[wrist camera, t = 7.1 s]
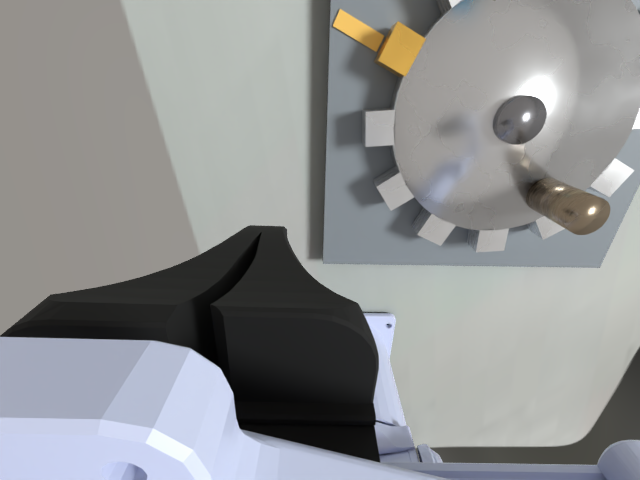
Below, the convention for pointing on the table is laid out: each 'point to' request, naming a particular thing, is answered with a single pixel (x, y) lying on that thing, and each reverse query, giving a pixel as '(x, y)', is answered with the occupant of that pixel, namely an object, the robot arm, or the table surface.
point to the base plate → (370, 162)
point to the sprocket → (509, 116)
